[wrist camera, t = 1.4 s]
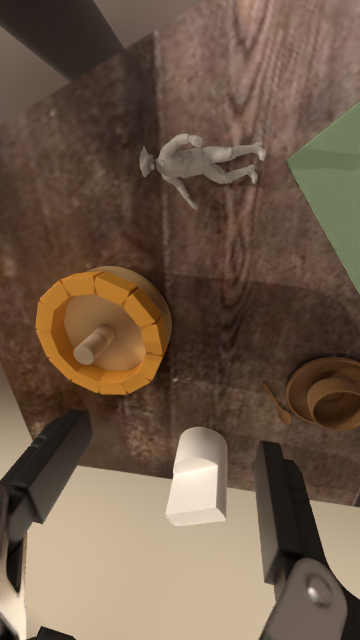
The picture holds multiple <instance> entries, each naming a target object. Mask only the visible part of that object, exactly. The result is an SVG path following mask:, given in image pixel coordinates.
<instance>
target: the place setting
mask: <svg viewBox="0 0 360 640" xmlns="http://www.w3.org/2000/svg"><path fill="white" fill-rule="evenodd" d="M263 385H264V388H265V390H266V391H267V393H268V395H269V396H270V398H271V399H272V400H273V402H274V404H275V405H276V407H277V409H278V411H277V415H278V418H279V419H280V420H281V421H282V422H283V423H285V424H287V425H290V424H291V421H292V418H291V415H290V414H289V412H288V411H286V410H285V409H283V408H281V407H280V406H279V404H278V402H277V401H276V399H275V397H274V395H273V394H272V392H271V390H270V389H269V387H268V386H267V385H266V384H265V383H263ZM286 399H287V403H288V405H289V407H290V409H291V410H292V412H293V413H294V414H295V415H296V416H298V417H299V418H301V419H302V420H304V421H306V422H309V423H312V424H315V425H319V426H321V427H323V428H325V429H328V430H333V431H347V430H351V429H354V428H357V427H359V426H360V362H358V361H356V360H352V359H349V358H344V357H326V358H320V359H316V360H313V361H311V362H309V363H306V364H305V365H303V366H301V367H300V368H299V369H298V370H296V371H295V372H294V374H293V375H292V376H291V378H290V379H289V381H288V384H287V387H286Z"/></svg>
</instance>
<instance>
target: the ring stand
mask: <svg viewBox="0 0 360 640" xmlns="http://www.w3.org/2000/svg"><path fill="white" fill-rule="evenodd" d="M95 271H104V273H105V272H107V271H108V272H110V273H112V274H115V275H117V276H119V277H121V278H124V279H126V280H128V281H130V282H132V283H135V284H137V285H138V286H137V289H138V288H140V287H141V288H142V290H143V291H144V292H145V293H146V294H147V296H148V297H149V298H150V299H151V301H152V302H153V303H154V304H155V306H156V307H157V308H158V309H159V310H160V312H161V314H160V316H163V319H164V325H165V330H166V336H167V341H168V343H169V340H170V337H171V332H172V320H171V315H170V311H169V308H168V305H167V303H166V301H165V299H164V298H163V296H162V295H161V293H160V292H159V290H158V289H157V288H156V287H155V286H154V285H153V284H152V283H151V282H150V281H148V280H147V279H146V278H144V277H143V276H142V275H140V274H138V273H136V272H134V271H132V270H129V269H126V268H122V267H117V266H103V267H98V268H95V269H92V270H89V271H87V272H95ZM85 273H86V272H85ZM137 289H136V290H137ZM63 324H64V327H65V330H66V333H67V335H68V338H69V341H70V344H71V345H72V346H73V347H74V348H75V349H74V357H75V358H76V360H77V361H78V362H80V363H81V364H84V365H89V364H91V363H92V364H94V365H97V366H99V367H101V368H103V369H105V370H130V369H131V368H133V367H135V366H136V365H138V364H140V363H141V362H142V361H143V359H144V356H145V354H146V350H145V346H144V341H143V337H142V333H141V328H140V327H139V326H138V325H137V323H136V322H135V321H134V320H133V319H132V318H131V316H130V315H129V314H128V313H127V312H126V311H125V309H124V308H123V307H122V306H120V305H118V304H116V303H113V302H111V301H109V300H107V299H105V298H102V297H100V296H98V295H96V294H93V295H82V296H75V297H74V298H73V299H72V300H70V301H69V302H68V303H67V306H66V312H65V317H64V323H63Z"/></svg>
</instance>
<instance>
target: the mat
mask: <svg viewBox="0 0 360 640" xmlns="http://www.w3.org/2000/svg"><path fill="white" fill-rule="evenodd" d="M286 163H287V165H288V167H289V169H290V171H291V172H292V174H293V176H294V178H295V180H296V181H297V183H298V185H299V187H300V189H301V190H302V192H303V194H304V196H305V198H306V199H307V201H308V203H309V205H310V207H311V208H312V210H313V212H314V214H315V216H316V217H317V219H318V221H319V223H320V225H321V226H322V228H323V230H324V232H325V234H326V235H327V237H328V239H329V241H330V243H331V244H332V246H333V248H334V250H335V252H336V253H337V255H338V257H339V259H340V261H341V262H342V264H343V266H344V268H345V270H346V271H347V273H348V275H349V277H350V279H351V280H352V282H353V284H354V286H355V288H356V289H357V291H358V293H359V295H360V102H359V103H357V104H356V105H355V106H354V107H352V108H351V109H350V110H349V111H347V112H346V113H345V114H344V115H342V116H341V117H340V118H339V119H337V120H336V121H335V122H334V123H332V124H331V125H330V126H329V127H327V128H326V129H325V130H324V131H323V132H321V133H320V134H319V135H318V136H316V137H315V138H314V139H313V140H311V141H310V142H309V143H308V144H306V145H305V146H304V147H303V148H301V149H300V150H299V151H298V152H296V153H295V154H294V155H293V156H291V157H290V158H289V159H288V160H286Z"/></svg>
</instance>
